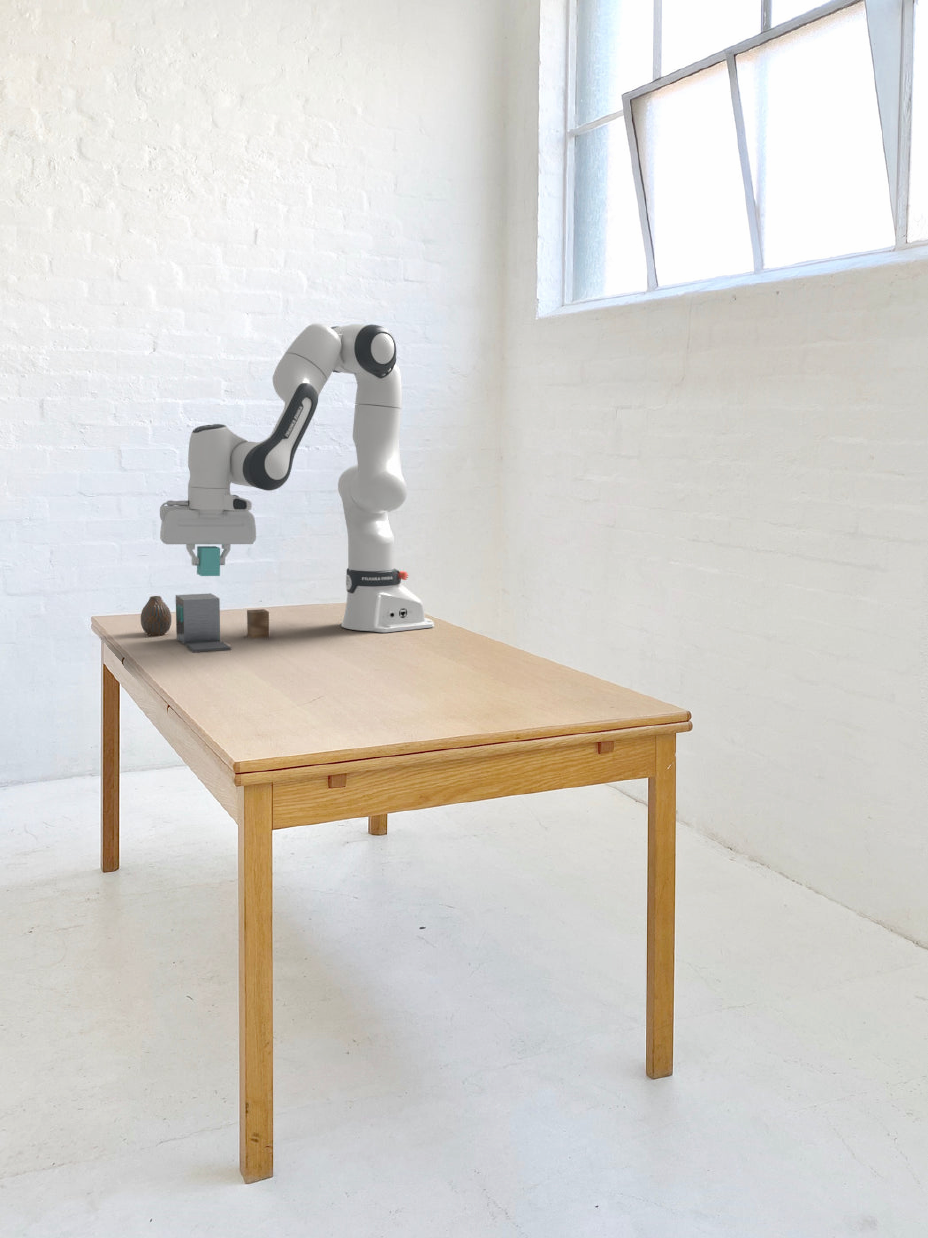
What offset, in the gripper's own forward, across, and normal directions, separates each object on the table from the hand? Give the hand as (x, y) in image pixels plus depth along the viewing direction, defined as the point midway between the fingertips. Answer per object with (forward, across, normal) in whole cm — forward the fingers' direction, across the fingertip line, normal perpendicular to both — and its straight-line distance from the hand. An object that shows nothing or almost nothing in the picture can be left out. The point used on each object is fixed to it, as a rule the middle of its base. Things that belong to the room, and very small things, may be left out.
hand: (208, 565), depth 258 cm
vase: (+19, -7, +21) cm, 29 cm away
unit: (+18, 0, +10) cm, 21 cm away
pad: (+18, 0, 0) cm, 18 cm away
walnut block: (+18, +14, +10) cm, 25 cm away
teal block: (+2, 0, 0) cm, 2 cm away
